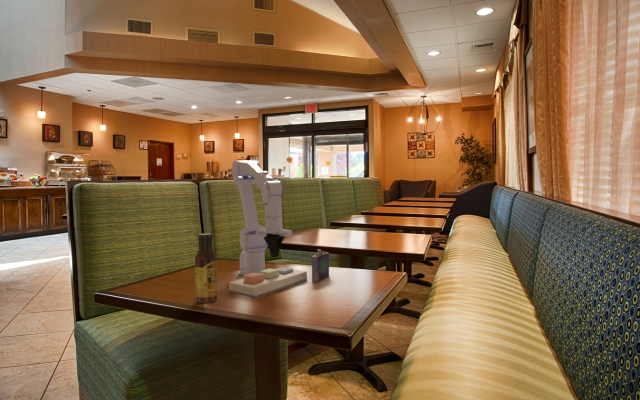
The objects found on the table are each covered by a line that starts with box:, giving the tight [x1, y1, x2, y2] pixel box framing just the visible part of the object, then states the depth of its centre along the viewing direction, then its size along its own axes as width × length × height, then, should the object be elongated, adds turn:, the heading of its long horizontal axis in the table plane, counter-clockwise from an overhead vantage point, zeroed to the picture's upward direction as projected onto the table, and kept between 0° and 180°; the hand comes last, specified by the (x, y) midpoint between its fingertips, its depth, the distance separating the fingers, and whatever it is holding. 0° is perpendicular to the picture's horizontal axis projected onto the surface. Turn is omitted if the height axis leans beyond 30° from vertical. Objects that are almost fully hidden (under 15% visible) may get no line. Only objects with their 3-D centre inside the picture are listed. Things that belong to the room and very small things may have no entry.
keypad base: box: [228, 266, 308, 299], centre depth 123 cm, size 12×24×3 cm, turn 142°
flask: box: [311, 248, 330, 283], centre depth 130 cm, size 9×3×11 cm, turn 146°
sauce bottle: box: [194, 233, 219, 304], centre depth 109 cm, size 7×6×20 cm
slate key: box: [275, 266, 294, 275], centre depth 128 cm, size 4×4×3 cm
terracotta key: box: [243, 273, 264, 285], centre depth 117 cm, size 4×4×3 cm
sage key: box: [260, 267, 279, 279], centre depth 122 cm, size 4×4×3 cm
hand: (274, 256), depth 124 cm, fingers closed
